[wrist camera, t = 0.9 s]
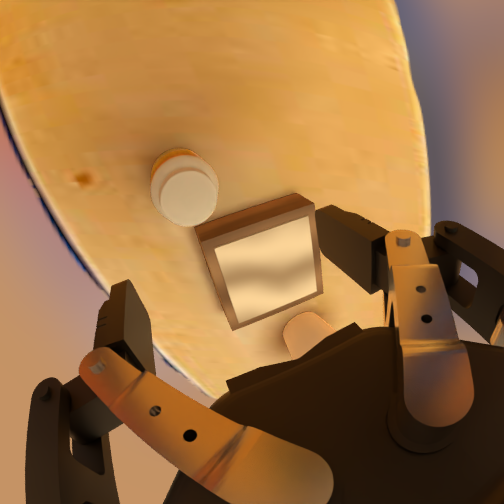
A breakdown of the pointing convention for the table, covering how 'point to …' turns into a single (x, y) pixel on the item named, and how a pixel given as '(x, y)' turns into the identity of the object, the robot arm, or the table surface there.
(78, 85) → the table surface
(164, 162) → the supplement bottle
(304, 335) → the foam cup
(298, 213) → the base slab
